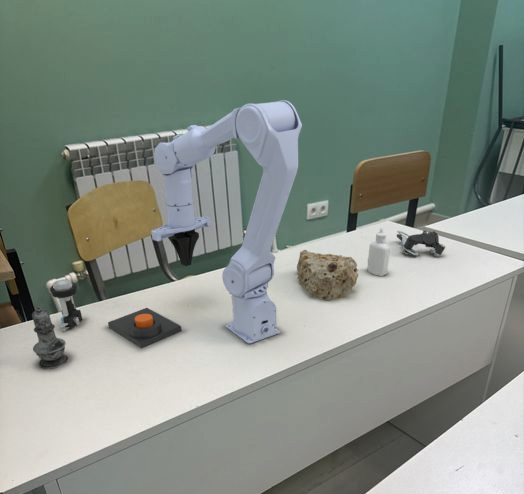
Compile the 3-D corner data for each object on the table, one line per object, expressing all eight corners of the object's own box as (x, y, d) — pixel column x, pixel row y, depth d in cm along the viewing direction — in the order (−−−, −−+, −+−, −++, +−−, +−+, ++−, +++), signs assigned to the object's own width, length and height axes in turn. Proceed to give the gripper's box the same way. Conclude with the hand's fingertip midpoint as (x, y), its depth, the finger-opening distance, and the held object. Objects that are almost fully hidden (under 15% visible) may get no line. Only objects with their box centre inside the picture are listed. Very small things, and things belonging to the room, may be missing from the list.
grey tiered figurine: (37, 357, 94) (20, 302, 88) (68, 350, 96) (54, 296, 90) (37, 372, 90) (20, 315, 83) (70, 365, 92) (55, 309, 85)
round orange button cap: (156, 324, 99) (155, 317, 98) (142, 330, 97) (140, 323, 96) (147, 319, 101) (146, 311, 101) (132, 325, 99) (131, 317, 98)
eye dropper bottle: (381, 268, 131) (386, 225, 125) (388, 276, 127) (394, 231, 120) (365, 269, 131) (370, 226, 125) (372, 277, 126) (377, 232, 120)
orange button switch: (181, 331, 102) (180, 318, 101) (141, 348, 96) (139, 335, 95) (147, 312, 110) (145, 300, 109) (108, 327, 104) (106, 314, 103)
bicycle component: (394, 233, 150) (397, 251, 138) (406, 213, 146) (410, 229, 134) (428, 249, 151) (434, 268, 138) (441, 229, 147) (448, 246, 134)
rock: (287, 275, 130) (295, 239, 126) (336, 283, 133) (346, 248, 130) (304, 299, 112) (315, 257, 108) (361, 308, 115) (373, 267, 111)
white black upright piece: (74, 334, 102) (63, 291, 97) (51, 332, 103) (39, 289, 98) (89, 319, 108) (79, 278, 103) (67, 318, 109) (57, 277, 104)
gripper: (195, 194, 108) (200, 252, 115) (139, 206, 99) (148, 268, 106) (215, 199, 103) (219, 259, 110) (159, 212, 95) (167, 277, 102)
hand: (186, 264), depth 108 cm, fingers closed
